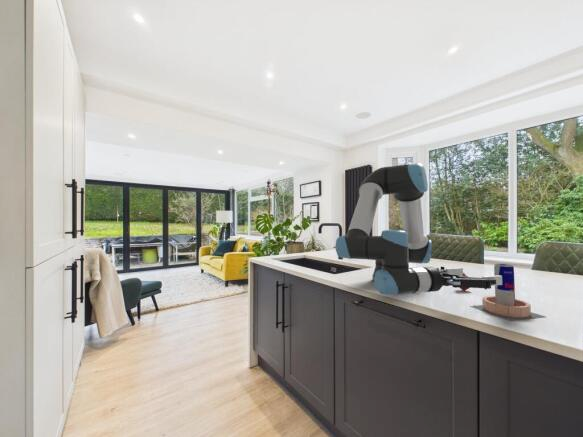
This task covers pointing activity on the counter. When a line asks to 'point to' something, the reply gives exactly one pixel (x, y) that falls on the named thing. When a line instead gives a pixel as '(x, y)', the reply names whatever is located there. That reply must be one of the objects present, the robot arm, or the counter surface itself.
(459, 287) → the onion
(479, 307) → the mat
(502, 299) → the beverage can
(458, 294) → the counter surface
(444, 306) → the counter surface
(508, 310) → the bowl
